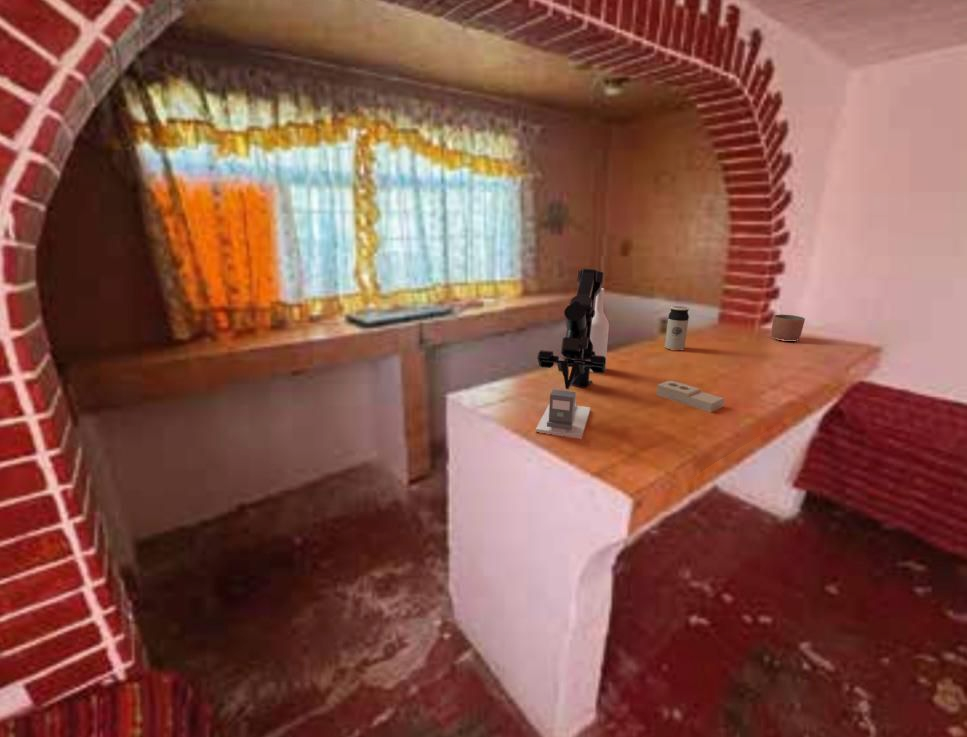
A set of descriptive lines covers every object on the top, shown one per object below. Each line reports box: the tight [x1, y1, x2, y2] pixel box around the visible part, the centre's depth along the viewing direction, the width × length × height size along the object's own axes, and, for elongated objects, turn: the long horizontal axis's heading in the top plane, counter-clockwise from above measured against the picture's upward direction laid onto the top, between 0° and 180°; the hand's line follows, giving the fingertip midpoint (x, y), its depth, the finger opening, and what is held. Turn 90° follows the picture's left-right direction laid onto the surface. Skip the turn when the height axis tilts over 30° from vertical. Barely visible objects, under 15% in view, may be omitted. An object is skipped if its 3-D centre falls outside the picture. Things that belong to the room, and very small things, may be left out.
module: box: [549, 389, 577, 425], centre depth 128 cm, size 5×6×8 cm
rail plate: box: [535, 402, 591, 440], centre depth 135 cm, size 20×12×3 cm, turn 162°
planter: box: [771, 314, 806, 341], centre depth 224 cm, size 12×12×11 cm
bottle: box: [590, 287, 610, 373], centre depth 176 cm, size 8×8×30 cm
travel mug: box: [664, 305, 690, 351], centre depth 207 cm, size 8×8×18 cm
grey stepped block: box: [656, 379, 725, 413], centre depth 150 cm, size 7×4×18 cm
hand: (567, 388), depth 133 cm, fingers closed
